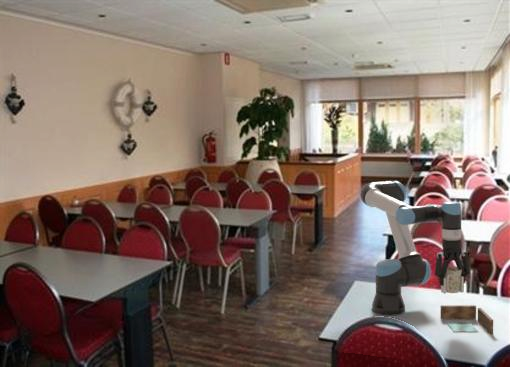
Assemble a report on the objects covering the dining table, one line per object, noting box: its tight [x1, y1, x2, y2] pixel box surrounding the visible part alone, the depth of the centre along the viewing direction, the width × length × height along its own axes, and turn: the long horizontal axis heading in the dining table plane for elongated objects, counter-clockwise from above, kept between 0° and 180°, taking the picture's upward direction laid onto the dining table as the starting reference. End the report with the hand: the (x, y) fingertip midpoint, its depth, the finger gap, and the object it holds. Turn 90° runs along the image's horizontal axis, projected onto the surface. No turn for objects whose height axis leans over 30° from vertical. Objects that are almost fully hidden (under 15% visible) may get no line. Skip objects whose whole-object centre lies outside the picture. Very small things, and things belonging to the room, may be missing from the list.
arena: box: [440, 304, 494, 335], centre depth 210 cm, size 16×17×6 cm
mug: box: [444, 265, 462, 294], centre depth 206 cm, size 8×13×10 cm, turn 150°
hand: (452, 291), depth 207 cm, fingers closed on mug, 7 cm apart
